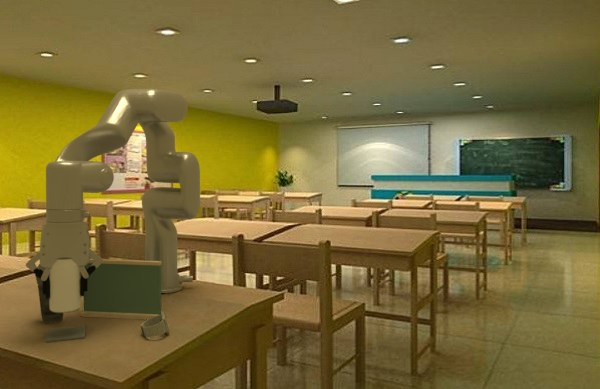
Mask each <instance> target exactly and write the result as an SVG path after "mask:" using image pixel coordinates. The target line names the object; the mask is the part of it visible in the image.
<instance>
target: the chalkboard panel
mask: <svg viewBox="0 0 600 389" xmlns="http://www.w3.org/2000/svg"><path fill="white" fill-rule="evenodd" d="M102 259H103V262H102V263H101V264H100V265H99V266H98V267H97V268H96V270H95V271H94V272H93V273H92V274H91V275H90V276H89V277H88V278H87V291H85V292H84V296H83V311H81V312H80V317H85V318H104V319H105V318H107V319H108V318H109V319H124V320H125V319H128V320H129V319H130V320H146V319H150V318H152V317H155V316H158V315H162V314H161V312H163V313H164V311H162V294H161V264H162V261H145V260H143V259H141V260H137V259H134V260H133V259H109V258H108V259H107V258H106V259H105V258H102ZM94 262H95V261H94V260H93V259H90V260H89V263H88V265H86V268H87V269H88V268H89V267H90V266H91V265H92V264H93V263H94Z"/></svg>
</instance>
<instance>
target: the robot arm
mask: <svg viewBox="0 0 600 389" xmlns="http://www.w3.org/2000/svg"><path fill="white" fill-rule="evenodd" d="M188 109H189V108H188V102H187V100H186V98H185V96H184V95H183V94H182V93H180V92H178V91H172V90H165V89H158V88H127V89H122V90H120V91H118V92H117V93H116V94H115V95H114V96H113V98H112V99H111V101H110V103H109V104H108V106H107V108H106V109H105V111H104V112H103V114H102V116H101V118H100V119H99V121H97V124H95V126H93V127H91V128H90V129H87V130H86V131H84V132H83V133H81V134H80V135H78V136H77V137H75V138H74V139H72V140H70V141H69V142H68V143H67V144H66V145H65V146H64V147H63V149H62V150H61V151H60V152H59V155H57V157H56V158H55V160H54V161H51V162H48V163H47V164H46V167H45V202H46V203H45V204H46V205H45V208H46V209H45V221H46V222H43V223H42V227H41V233H40V239H39V240H40V242H39V251H38V252H36V254H35V255H33V256H32V257H31V258H30V259H29V260H28V261H27V262H26V263H25V267H26V268H27V269H28V270H29V271H30V272H32V273H33V274H34V275H37V276H38V277H39V278H40V279H41V280H42V281H43V294H46V299H49V298H50V281H49V276H48V275H49V273H50V269H51V268H52V266H53V264H54V263H55V262H56V261H57V259H68V258H73V259H72V260H73V261H74V262H75V263H76V265H77V266H78V267H79V270H80V272H81V274H82V277H81V280H80V283H81V297H84V292H85V291H87V278H88V277H89V276H90V275H91V274H92V273H93V272H94V271H95V270H96V268H97V267H98V266H99V265H100V264H101V263H102V262H103V259H104V258H102V257H101V256H99V255H98V254H97V253H96V252H94V250H92V249H91V247H90V246H91V245H90V234H89V232H90V231H89V226H88V222H87V221H84V220H85V219H86V218H90V217H91V210H90V211H88V210H85V209H84V193H85V194H89V193H90V194H100V193H104V192H106V191H108V190H109V188H111V186H112V185H113V183H114V179H115V176H114V171H113V169H112V168H111V167H110V165H108V164H107V163H105V162H102V161H97V160H96V161H93V159H94V158H96V157H98V156H99V157H100V156H101V155H104V154H105V155H106V154H108V153H111V152H114V151H117V150H119V149H121V148H124V147H125V146H126V145H127V144H128V142H129V141H130V138H131V137H132V135H133V133H134V131H135V129H136V128H137V126H138V124H139V126H140V128H141V130H142V131H143V133H144V137H145V149H146V150H145V152H146V153H145V155H146V156H145V157H146V175H147V177H148V179H149V180H150V181H151V182H154V183H164V184H179V186H180V187H171V186H170V187H168V186H166V187H165V186H156V187H155V186H154V187H151V188H148V189H147V190H146V191H145V192H144V193H143V195H142V197H141V207H142V212H143V218H144V227H145V228H144V229H145V230H144V232H145V235H144V236H145V238H144V239H145V247H144V248H145V251H144V252H145V258H144V259H145V260H144V261H162V264H161V293H165V294H170V293H171V294H172V293H176V292H179V291H180V290H182V289H183V283H193V282H194V281H193V280H194V279H193V275H184V274H183V275H180V274H179V273H178V231H177V230H178V229H177V227H176V225H175V223H174V222H173V220H193V219H194V218H196V217H197V216H198V214H199V212H200V210H201V209H200V208H201V170H200V169H201V168H200V163H199V159H198V158H197V156H196V155H195V154H194V153H192V152H190V151H189V152H188V151H177V150H176V139H175V138H176V137H175V133H174V131H173V129H172V127H171V125H170V124H169V123H179V122H181V121H183V120H184V119H185V117H186V116H187V114H188ZM90 257H91V258H92V259H93V260H94V261H95V262H94V263H93V264H92V265H91V266H90V267H89V268H88V269H87V268H86V265H88V263H89V260H90ZM38 261H39V264H40V266H41V267H43V268H45V270H44V272H43V271H42V270H41V269H40V268H38V266H37V264H36V263H37V262H38Z"/></svg>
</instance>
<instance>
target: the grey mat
mask: <svg viewBox="0 0 600 389" xmlns="http://www.w3.org/2000/svg"><path fill="white" fill-rule="evenodd" d="M86 328H87V325H78V326H77V325H76V326H67V327H56V328H47V332H46V336H45V339H44V343H52V342H53V343H54V342H63V341H72V340H79V339H80V340H81V339H82V340H83V339H86Z"/></svg>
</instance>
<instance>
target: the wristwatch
mask: <svg viewBox="0 0 600 389" xmlns="http://www.w3.org/2000/svg"><path fill="white" fill-rule="evenodd" d="M161 314H162V315H158V316H155V317H152V318H150V319H148V320H146V319H145V321H143V322H142V323H141V324H140V329H141V334H142V336H143V337H145V338H152V337H157V336H161V335H163V334H165V333H166V335H169V334H170V330H169V326H168V322H167V318H166V314H165V312H164V311H163V312H161Z"/></svg>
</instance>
